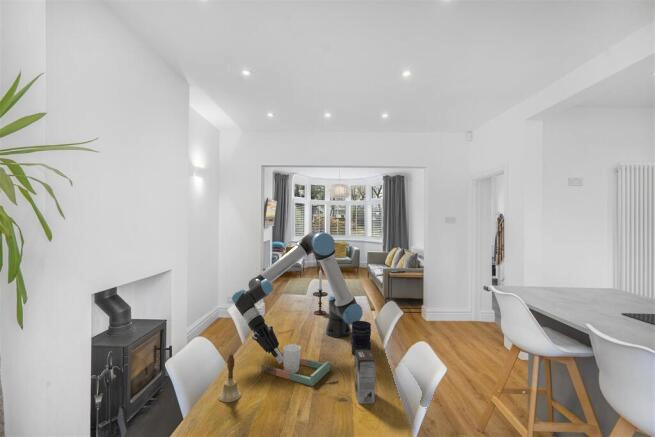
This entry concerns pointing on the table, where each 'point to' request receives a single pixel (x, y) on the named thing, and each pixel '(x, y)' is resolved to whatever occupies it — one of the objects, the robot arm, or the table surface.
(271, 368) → the lane walls
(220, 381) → the table surface
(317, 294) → the candlestick
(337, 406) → the table surface
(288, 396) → the table surface
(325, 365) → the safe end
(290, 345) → the white cup
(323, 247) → the robot arm
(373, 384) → the coffee box
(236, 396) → the hand bell
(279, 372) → the walls
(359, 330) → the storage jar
